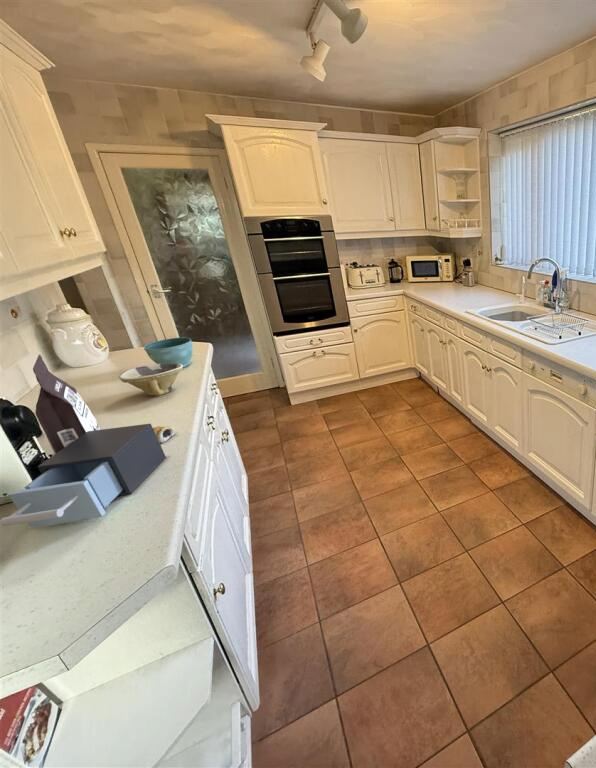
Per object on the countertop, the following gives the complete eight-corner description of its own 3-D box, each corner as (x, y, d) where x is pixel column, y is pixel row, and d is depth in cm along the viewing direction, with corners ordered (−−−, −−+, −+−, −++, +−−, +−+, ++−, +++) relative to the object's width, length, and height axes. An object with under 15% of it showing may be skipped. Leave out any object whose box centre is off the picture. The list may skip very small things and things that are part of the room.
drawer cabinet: (131, 494, 94) (111, 456, 89) (61, 505, 91) (36, 466, 86) (166, 457, 108) (150, 423, 103) (106, 466, 105) (87, 431, 100)
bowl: (189, 394, 146) (180, 370, 143) (125, 407, 137) (113, 382, 133) (192, 379, 160) (183, 357, 156) (134, 390, 151) (123, 367, 147)
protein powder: (108, 460, 107) (58, 364, 96) (62, 474, 102) (3, 374, 90) (107, 438, 118) (62, 349, 107) (65, 449, 113) (13, 358, 101)
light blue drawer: (82, 536, 80) (61, 502, 77) (5, 550, 77) (-21, 515, 74) (141, 476, 99) (126, 446, 95) (80, 485, 96) (62, 455, 92)
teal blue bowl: (196, 368, 171) (188, 344, 167) (149, 376, 164) (138, 351, 160) (201, 357, 184) (193, 335, 180) (157, 364, 177) (148, 341, 173)
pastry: (129, 445, 114) (124, 434, 112) (148, 433, 120) (143, 423, 119) (162, 444, 114) (157, 433, 112) (179, 432, 120) (175, 421, 119)
